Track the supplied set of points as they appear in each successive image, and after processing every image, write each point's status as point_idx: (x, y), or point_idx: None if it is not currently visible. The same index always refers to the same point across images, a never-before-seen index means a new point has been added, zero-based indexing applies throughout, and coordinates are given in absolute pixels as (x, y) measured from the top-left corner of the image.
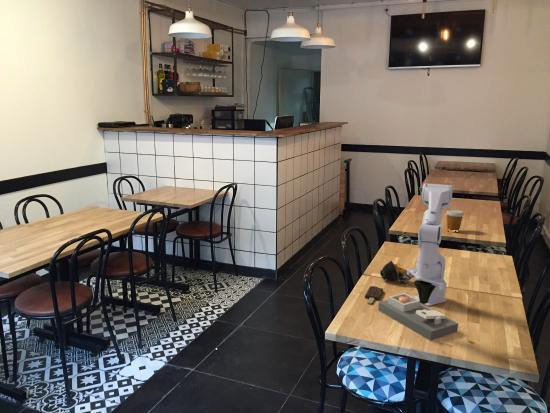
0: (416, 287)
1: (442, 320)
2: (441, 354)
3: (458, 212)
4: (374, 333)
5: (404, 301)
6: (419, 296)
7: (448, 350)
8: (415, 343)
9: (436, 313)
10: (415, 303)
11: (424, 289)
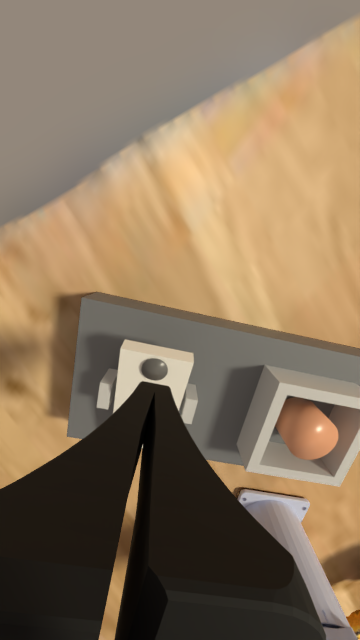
0: (220, 487)
1: None
2: (7, 230)
3: None
4: (275, 160)
5: (298, 419)
6: (170, 411)
7: (15, 278)
8: (117, 226)
9: None
10: (252, 441)
11: (20, 486)
